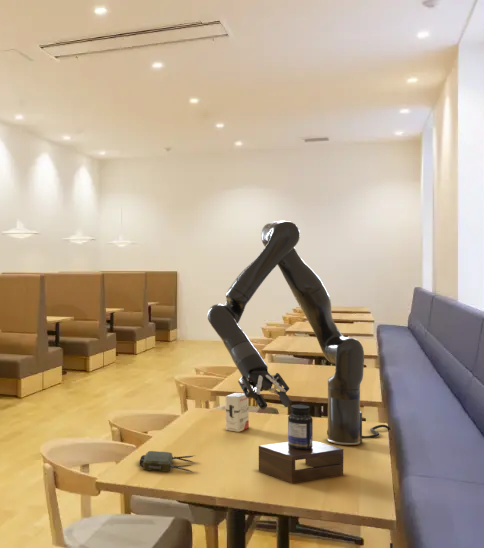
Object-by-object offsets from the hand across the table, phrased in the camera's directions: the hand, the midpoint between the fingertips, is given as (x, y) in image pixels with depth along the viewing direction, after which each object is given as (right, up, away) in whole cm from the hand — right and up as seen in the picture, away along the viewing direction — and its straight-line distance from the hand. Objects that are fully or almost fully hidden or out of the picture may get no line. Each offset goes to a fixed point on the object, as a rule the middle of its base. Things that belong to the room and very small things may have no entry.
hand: (276, 406), depth 203 cm
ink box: (+3, -16, +44) cm, 47 cm away
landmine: (-31, -17, 0) cm, 35 cm away
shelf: (+3, -16, -8) cm, 19 cm away
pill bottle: (+3, -10, -8) cm, 13 cm away
